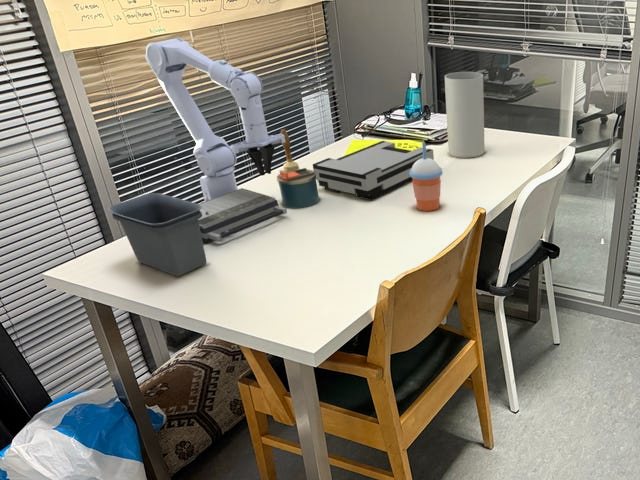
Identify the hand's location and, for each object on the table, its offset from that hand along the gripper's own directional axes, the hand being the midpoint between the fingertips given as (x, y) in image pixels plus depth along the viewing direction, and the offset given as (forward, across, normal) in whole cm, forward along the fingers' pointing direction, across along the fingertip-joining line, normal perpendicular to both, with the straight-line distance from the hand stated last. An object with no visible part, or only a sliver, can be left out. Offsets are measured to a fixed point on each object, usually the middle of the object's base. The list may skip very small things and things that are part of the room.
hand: (265, 173), depth 181 cm
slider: (+2, +7, 0) cm, 7 cm away
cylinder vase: (+11, +73, +1) cm, 74 cm away
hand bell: (+11, +16, +18) cm, 26 cm away
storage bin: (+11, -33, -15) cm, 38 cm away
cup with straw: (+11, +33, -30) cm, 46 cm away
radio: (+11, -13, -2) cm, 17 cm away
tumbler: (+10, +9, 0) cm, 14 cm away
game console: (+11, +35, -1) cm, 37 cm away
